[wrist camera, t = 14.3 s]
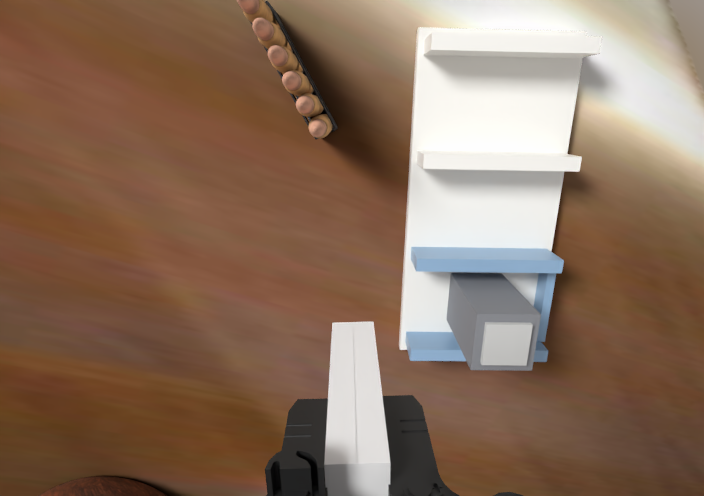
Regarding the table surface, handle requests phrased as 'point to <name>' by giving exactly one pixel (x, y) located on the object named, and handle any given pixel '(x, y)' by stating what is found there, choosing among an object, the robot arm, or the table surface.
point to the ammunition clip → (289, 66)
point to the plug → (492, 322)
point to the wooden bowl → (103, 488)
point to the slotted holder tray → (486, 170)
